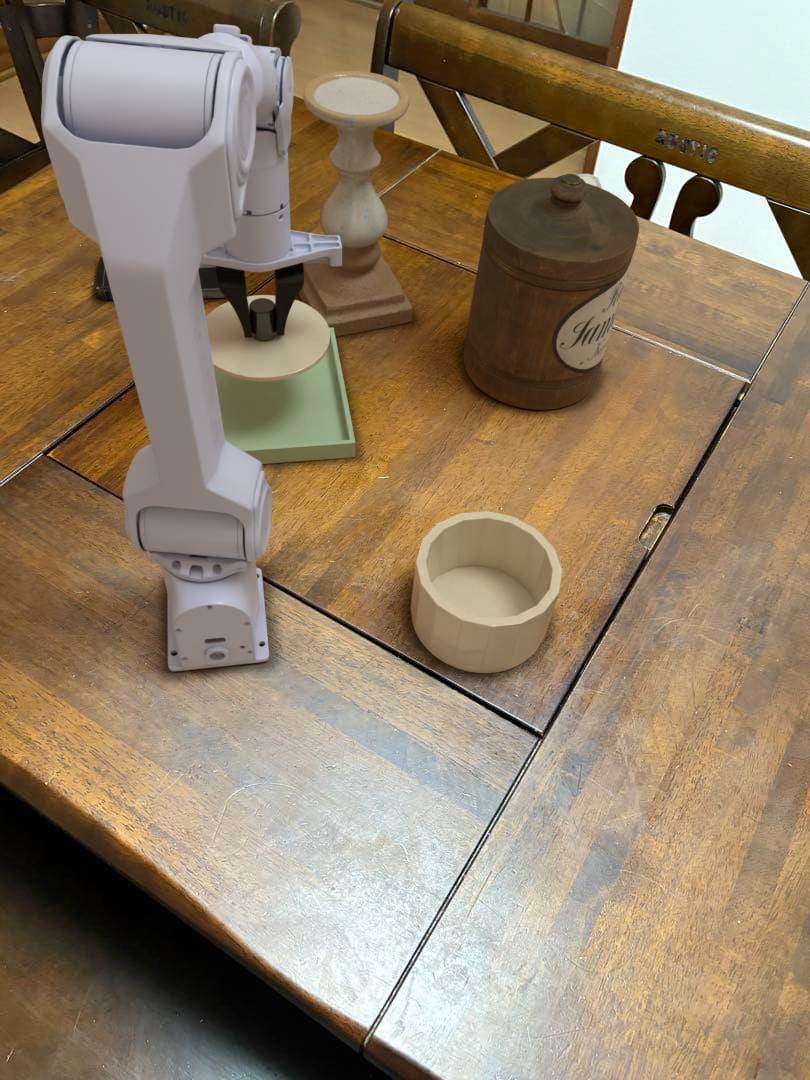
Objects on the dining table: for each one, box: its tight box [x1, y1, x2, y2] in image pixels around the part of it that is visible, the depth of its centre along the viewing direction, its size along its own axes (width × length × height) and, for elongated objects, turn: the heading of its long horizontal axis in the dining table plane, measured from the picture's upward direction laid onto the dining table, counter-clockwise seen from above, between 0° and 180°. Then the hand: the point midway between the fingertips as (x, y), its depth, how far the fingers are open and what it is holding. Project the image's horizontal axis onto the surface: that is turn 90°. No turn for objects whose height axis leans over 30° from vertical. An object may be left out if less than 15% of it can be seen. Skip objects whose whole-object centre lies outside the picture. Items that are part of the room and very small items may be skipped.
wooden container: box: [463, 173, 640, 411], centre depth 92 cm, size 15×15×22 cm
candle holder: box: [298, 70, 413, 338], centre depth 97 cm, size 11×11×24 cm
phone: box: [94, 254, 226, 301], centre depth 106 cm, size 8×1×15 cm
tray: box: [214, 328, 357, 465], centre depth 93 cm, size 18×16×2 cm
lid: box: [206, 294, 330, 381], centre depth 86 cm, size 13×13×4 cm
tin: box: [409, 510, 563, 674], centre depth 76 cm, size 12×12×7 cm
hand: (264, 330), depth 87 cm, fingers closed on lid, 2 cm apart
